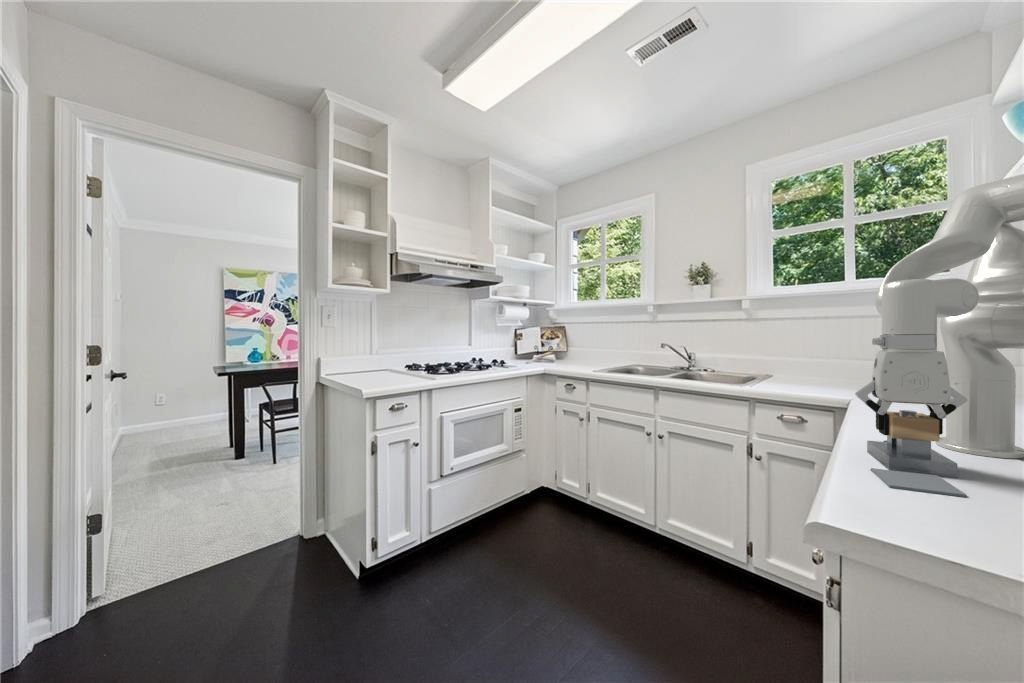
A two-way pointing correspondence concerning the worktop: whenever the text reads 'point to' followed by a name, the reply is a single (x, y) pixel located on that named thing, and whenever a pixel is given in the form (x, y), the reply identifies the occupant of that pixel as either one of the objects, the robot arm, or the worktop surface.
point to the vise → (911, 455)
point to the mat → (917, 482)
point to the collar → (913, 427)
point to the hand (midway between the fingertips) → (907, 434)
